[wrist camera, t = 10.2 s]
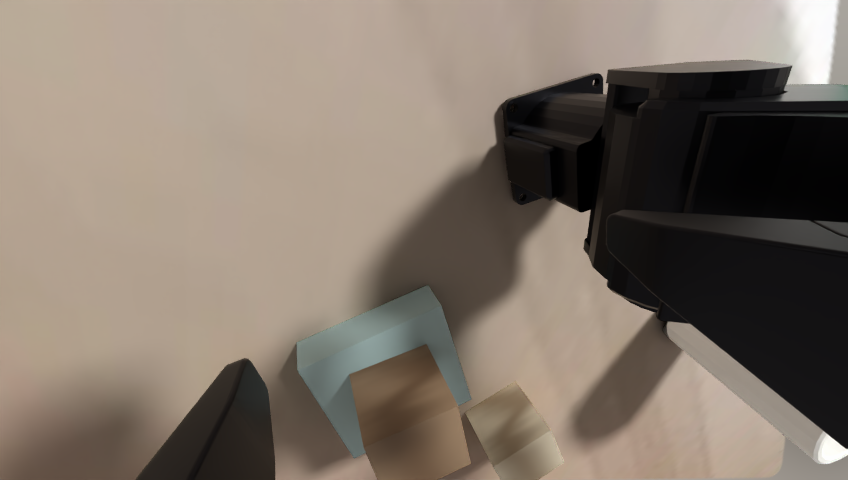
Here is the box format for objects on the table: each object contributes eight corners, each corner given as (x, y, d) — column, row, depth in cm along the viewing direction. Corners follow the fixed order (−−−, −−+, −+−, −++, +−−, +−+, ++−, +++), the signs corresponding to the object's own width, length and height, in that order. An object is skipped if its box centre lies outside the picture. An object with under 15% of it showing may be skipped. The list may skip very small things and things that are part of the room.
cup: (633, 316, 33) (806, 438, 22) (716, 237, 32) (938, 322, 21) (668, 361, 38) (823, 480, 27) (740, 294, 37) (931, 388, 26)
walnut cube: (426, 343, 23) (458, 406, 19) (440, 397, 25) (471, 463, 21) (349, 374, 22) (363, 447, 18) (370, 427, 24) (388, 503, 20)
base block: (425, 281, 25) (441, 305, 22) (455, 370, 29) (471, 399, 27) (296, 337, 23) (297, 370, 21) (347, 422, 28) (354, 458, 25)
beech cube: (514, 380, 31) (551, 429, 27) (529, 412, 34) (564, 462, 29) (464, 411, 31) (493, 467, 26) (482, 442, 33) (511, 497, 29)
